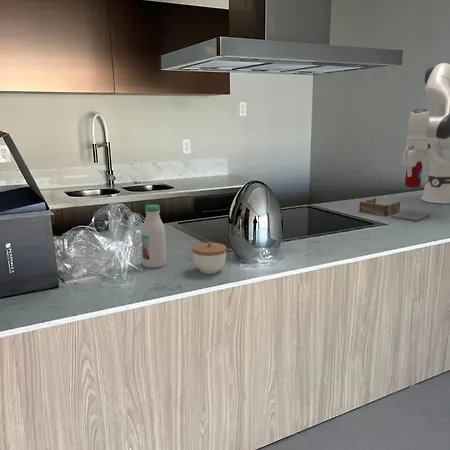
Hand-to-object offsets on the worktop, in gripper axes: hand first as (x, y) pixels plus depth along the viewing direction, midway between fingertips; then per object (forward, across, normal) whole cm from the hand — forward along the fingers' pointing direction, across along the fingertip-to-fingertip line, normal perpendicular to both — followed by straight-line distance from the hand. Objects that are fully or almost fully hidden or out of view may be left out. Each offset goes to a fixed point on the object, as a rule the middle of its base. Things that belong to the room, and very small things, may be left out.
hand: (413, 175), depth 215 cm
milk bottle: (+21, -127, +29) cm, 132 cm away
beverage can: (+5, 0, 0) cm, 5 cm away
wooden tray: (+20, 0, +15) cm, 25 cm away
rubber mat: (+20, 0, 0) cm, 20 cm away
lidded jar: (+21, -118, +12) cm, 120 cm away
